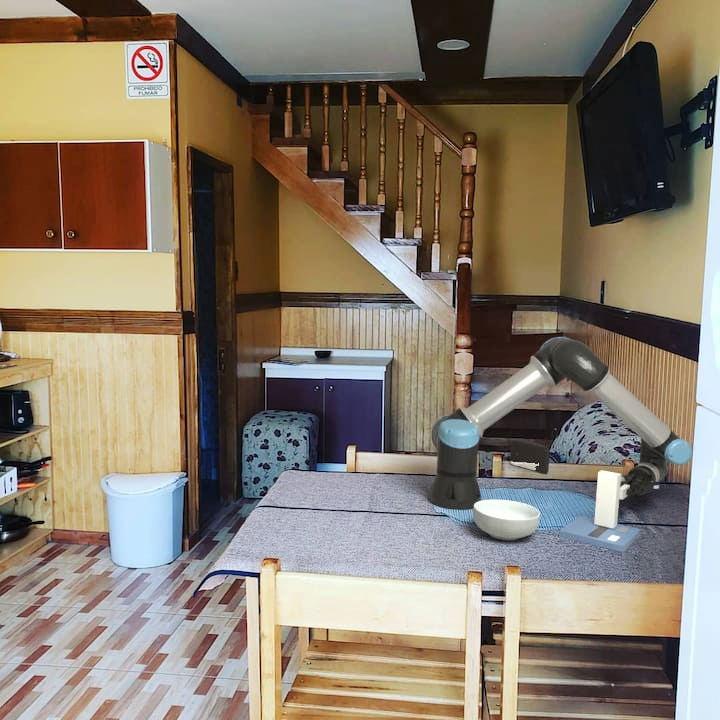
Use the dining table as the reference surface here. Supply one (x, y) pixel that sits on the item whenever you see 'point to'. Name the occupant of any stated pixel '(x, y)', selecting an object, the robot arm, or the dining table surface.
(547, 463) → the leaning round-cornered charcoal block
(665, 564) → the dining table surface
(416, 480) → the dining table surface
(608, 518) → the white upright block
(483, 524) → the cereal bowl
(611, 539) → the switch board
